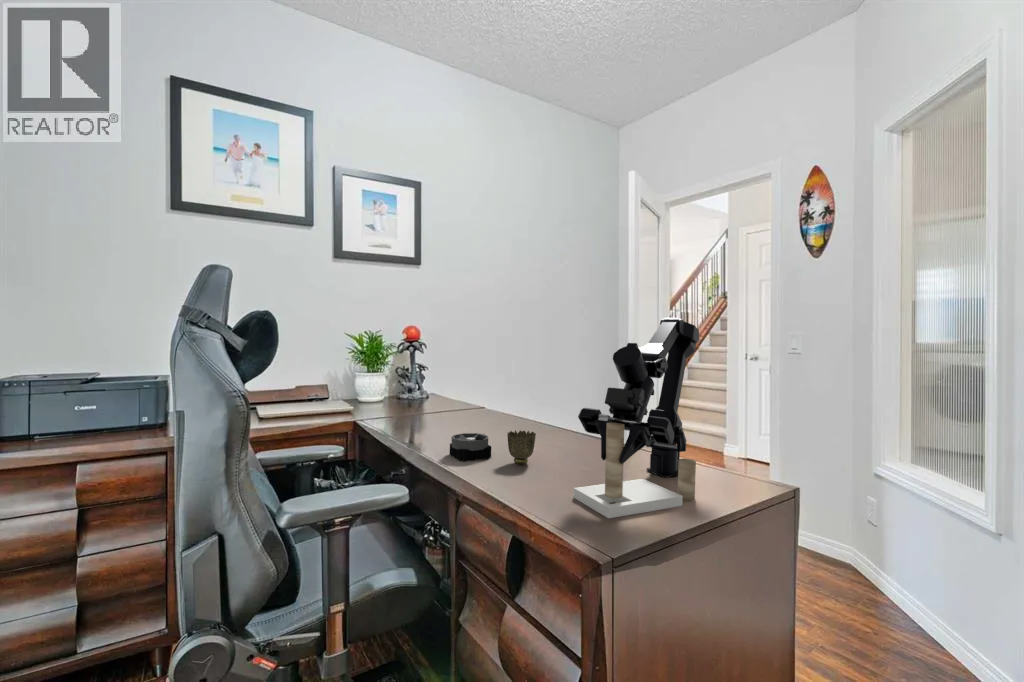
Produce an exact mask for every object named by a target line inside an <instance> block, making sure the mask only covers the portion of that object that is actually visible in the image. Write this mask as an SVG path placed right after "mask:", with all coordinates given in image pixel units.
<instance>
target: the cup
mask: <svg viewBox="0 0 1024 682" xmlns="http://www.w3.org/2000/svg"><path fill="white" fill-rule="evenodd" d="M536 435H537V434H536V432H534V431H531V432H530V431H529V430H527V432H526V431H525V430H523V431H522V430H521V429H520V430H519V431H517V430H514V431H512V430H510V431H509V432H507V447H508V452H509V454H510V455H511V456H512V458H513V462H514V464H515V465H519V466H521V465H522V466H523V465H527V464H528V462H529V459H528V458H530V457H531V456H532V455H533V453H534V449H535V443H536Z"/></svg>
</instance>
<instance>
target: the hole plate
mask: <svg viewBox="0 0 1024 682" xmlns="http://www.w3.org/2000/svg"><path fill="white" fill-rule="evenodd" d="M682 498H683V496H682V495H679V494H678V492H674V491H672V490H670V489H668V488H665V487H663V486H661V485H658V484H656V483H654V482H652V481H649V480H646V479H644V478H638V479H631V480H623V494H622V497H621V498H609V497H606V496H605V483H602V484H601V483H600V484H594V485H587V486H580V487H573V499H575V500H577V501H579V502H580V503H582V504H584V505H585V506H587V507H589V508H590V509H592V510H594V511H595V512H597V513H599V514H601V515H602V516H603V517H605V518H607V519H613V518H619V517H625V516H630V515H636V514H642V513H647V512H648V513H649V512H655V511H659V510H660V511H661V510H667V509H672V508H679V507H683V500H682Z"/></svg>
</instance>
